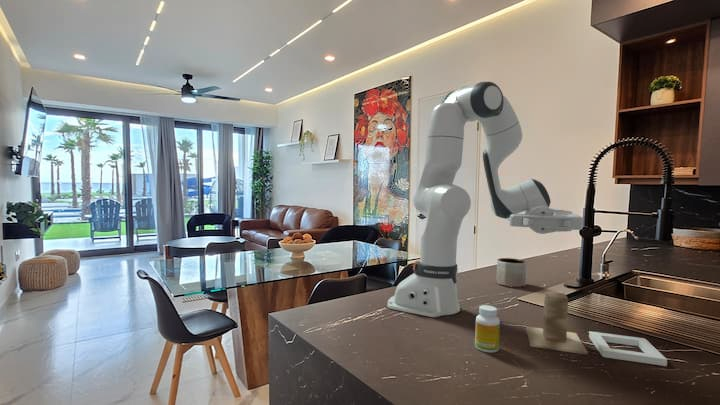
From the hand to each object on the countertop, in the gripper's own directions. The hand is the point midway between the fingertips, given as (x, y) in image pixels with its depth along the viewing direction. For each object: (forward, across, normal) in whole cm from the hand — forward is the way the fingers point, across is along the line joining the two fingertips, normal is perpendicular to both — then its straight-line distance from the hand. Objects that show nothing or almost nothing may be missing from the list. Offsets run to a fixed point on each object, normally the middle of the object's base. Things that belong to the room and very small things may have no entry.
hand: (548, 223), depth 107 cm
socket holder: (+17, +15, +28) cm, 36 cm away
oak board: (+17, 0, +28) cm, 33 cm away
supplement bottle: (+28, -16, +28) cm, 43 cm away
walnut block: (+17, 0, +27) cm, 32 cm away
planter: (-38, -7, +28) cm, 48 cm away
